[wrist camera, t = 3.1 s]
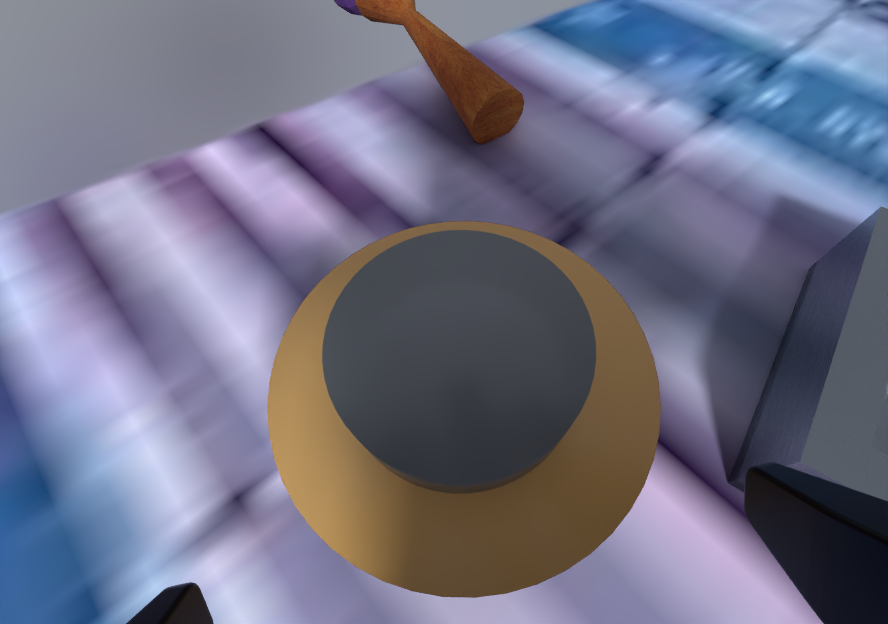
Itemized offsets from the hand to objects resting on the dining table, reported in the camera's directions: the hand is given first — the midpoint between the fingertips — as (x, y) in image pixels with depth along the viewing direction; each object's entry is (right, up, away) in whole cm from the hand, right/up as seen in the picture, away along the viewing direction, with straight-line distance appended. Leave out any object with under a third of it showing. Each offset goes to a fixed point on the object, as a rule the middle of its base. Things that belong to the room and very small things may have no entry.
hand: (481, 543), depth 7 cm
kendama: (-3, +21, +23) cm, 31 cm away
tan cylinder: (0, -3, +9) cm, 10 cm away
